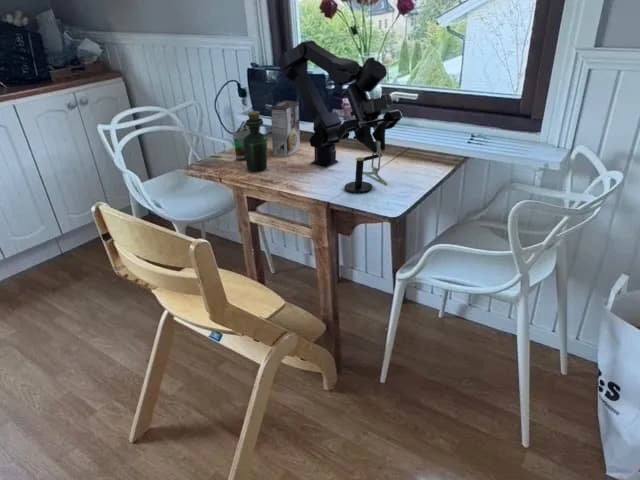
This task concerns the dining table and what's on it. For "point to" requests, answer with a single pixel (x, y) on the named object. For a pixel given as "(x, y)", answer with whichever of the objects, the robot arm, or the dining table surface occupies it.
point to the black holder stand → (360, 177)
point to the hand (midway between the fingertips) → (379, 151)
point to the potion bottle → (255, 144)
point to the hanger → (375, 170)
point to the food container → (240, 142)
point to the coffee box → (285, 128)
